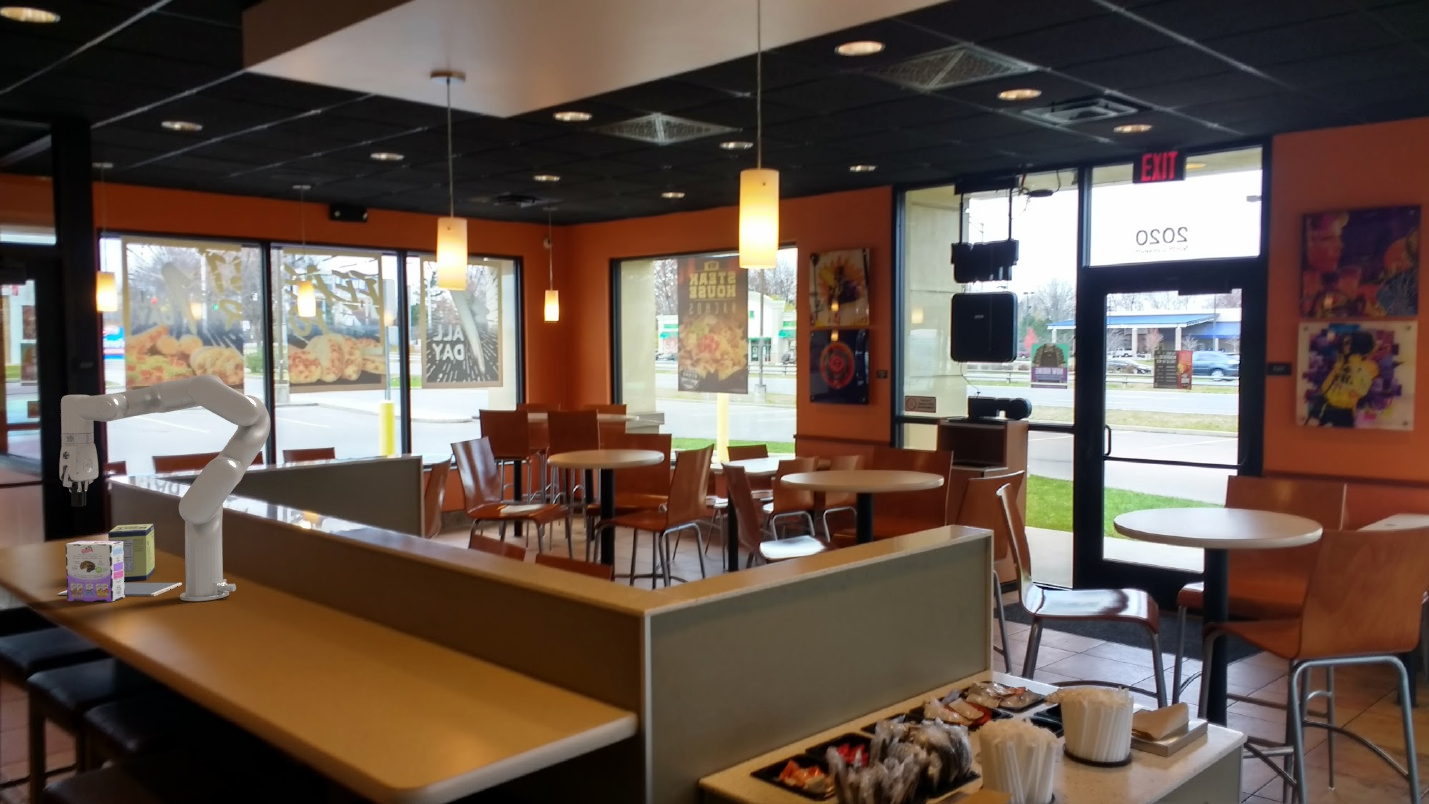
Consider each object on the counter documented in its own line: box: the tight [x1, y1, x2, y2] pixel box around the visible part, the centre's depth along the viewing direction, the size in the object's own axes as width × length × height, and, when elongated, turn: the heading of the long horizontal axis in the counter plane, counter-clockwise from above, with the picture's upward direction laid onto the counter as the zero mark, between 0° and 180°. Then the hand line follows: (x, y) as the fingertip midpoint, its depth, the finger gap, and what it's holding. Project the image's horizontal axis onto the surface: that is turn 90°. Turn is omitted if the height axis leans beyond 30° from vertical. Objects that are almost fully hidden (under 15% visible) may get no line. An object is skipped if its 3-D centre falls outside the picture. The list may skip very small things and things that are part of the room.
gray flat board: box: [57, 582, 183, 597], centre depth 305 cm, size 28×15×1 cm, turn 89°
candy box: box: [64, 540, 126, 603], centre depth 293 cm, size 14×6×16 cm, turn 84°
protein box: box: [107, 523, 156, 582], centre depth 324 cm, size 10×16×16 cm
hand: (78, 506), depth 286 cm, fingers closed
